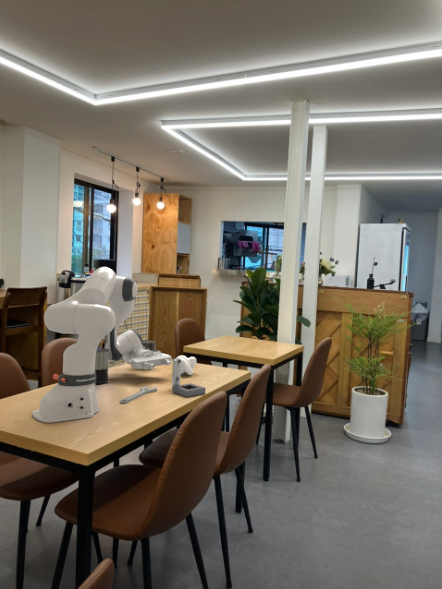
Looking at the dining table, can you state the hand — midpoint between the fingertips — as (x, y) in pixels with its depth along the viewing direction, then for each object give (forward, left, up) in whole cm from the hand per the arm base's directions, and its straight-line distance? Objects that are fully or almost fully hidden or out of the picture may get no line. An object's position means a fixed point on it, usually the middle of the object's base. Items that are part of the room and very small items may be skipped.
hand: (160, 364), depth 213 cm
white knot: (+21, +7, -9) cm, 23 cm away
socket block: (0, -22, -8) cm, 23 cm away
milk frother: (-24, +20, -8) cm, 33 cm away
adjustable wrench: (-20, -12, -9) cm, 25 cm away
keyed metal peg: (0, -13, -8) cm, 15 cm away
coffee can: (+14, +32, -9) cm, 36 cm away
